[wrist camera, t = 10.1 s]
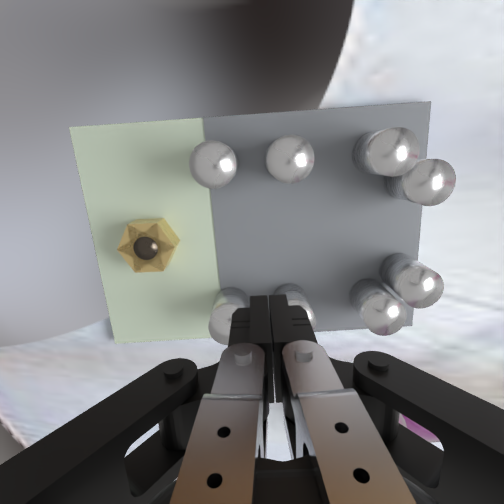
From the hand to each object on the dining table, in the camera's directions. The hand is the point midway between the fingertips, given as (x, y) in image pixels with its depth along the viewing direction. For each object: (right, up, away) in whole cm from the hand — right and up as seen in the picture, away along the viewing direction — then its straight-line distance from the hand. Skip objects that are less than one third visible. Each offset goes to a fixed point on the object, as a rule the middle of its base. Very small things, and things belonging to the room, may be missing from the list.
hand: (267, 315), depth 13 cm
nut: (-10, +4, +18) cm, 21 cm away
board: (0, +5, +19) cm, 19 cm away
